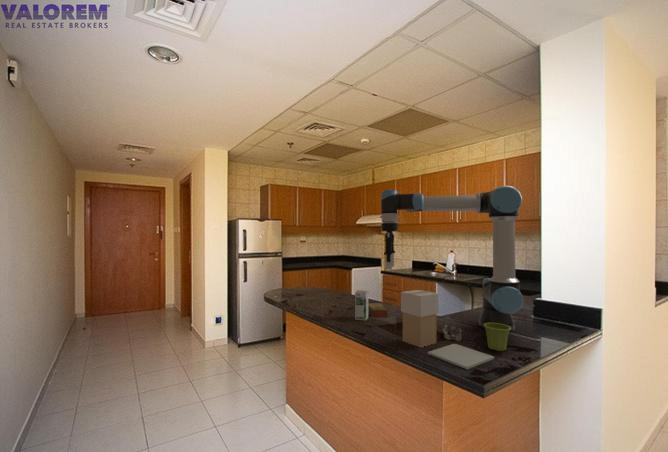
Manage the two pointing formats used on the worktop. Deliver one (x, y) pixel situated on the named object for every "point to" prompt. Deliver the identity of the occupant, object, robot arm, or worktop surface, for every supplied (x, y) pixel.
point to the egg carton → (452, 333)
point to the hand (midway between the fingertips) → (390, 268)
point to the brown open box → (419, 329)
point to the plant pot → (497, 335)
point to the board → (461, 356)
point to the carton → (377, 310)
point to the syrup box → (361, 305)
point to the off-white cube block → (419, 303)
